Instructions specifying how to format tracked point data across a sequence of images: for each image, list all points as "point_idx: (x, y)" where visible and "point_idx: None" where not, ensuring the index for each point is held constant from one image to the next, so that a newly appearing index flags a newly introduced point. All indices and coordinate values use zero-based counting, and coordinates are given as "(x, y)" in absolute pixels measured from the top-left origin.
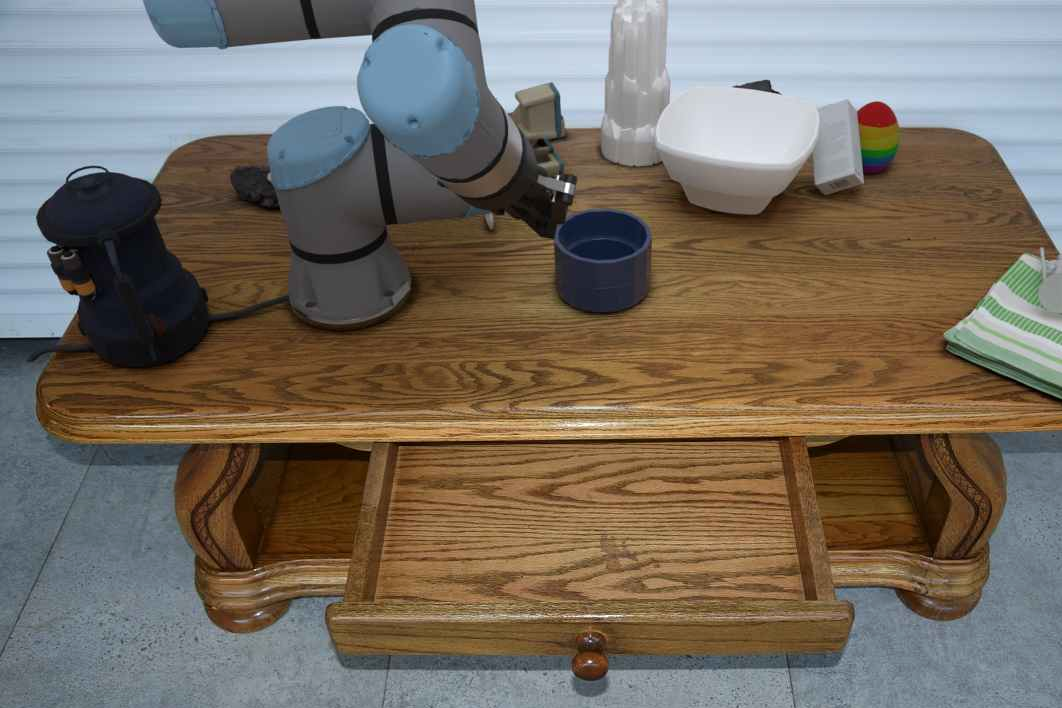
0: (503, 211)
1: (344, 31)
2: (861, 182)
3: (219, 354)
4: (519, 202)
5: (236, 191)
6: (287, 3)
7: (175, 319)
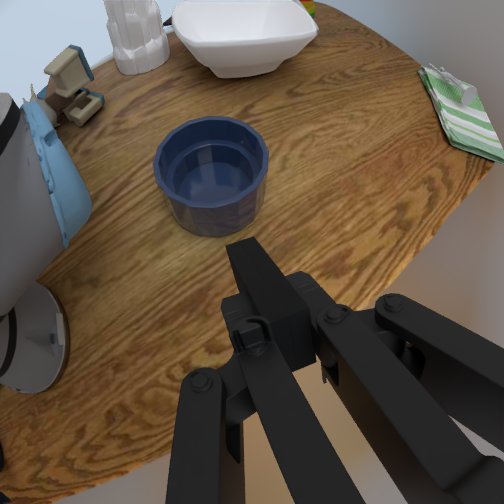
0: (242, 422)
1: None
2: (318, 33)
3: (14, 446)
4: None
5: None
6: None
7: None
